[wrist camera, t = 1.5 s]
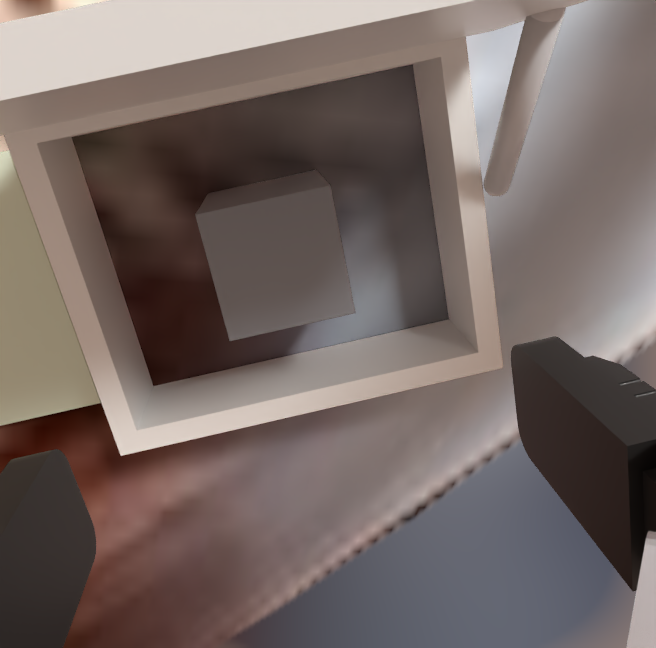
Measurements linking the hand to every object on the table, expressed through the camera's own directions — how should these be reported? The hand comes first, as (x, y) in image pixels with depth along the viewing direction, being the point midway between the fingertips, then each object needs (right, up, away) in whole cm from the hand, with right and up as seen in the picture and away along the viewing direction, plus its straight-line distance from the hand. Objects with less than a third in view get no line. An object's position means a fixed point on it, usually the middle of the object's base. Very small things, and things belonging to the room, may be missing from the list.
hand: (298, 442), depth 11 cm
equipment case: (-2, +6, +18) cm, 19 cm away
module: (-2, +6, +18) cm, 19 cm away
